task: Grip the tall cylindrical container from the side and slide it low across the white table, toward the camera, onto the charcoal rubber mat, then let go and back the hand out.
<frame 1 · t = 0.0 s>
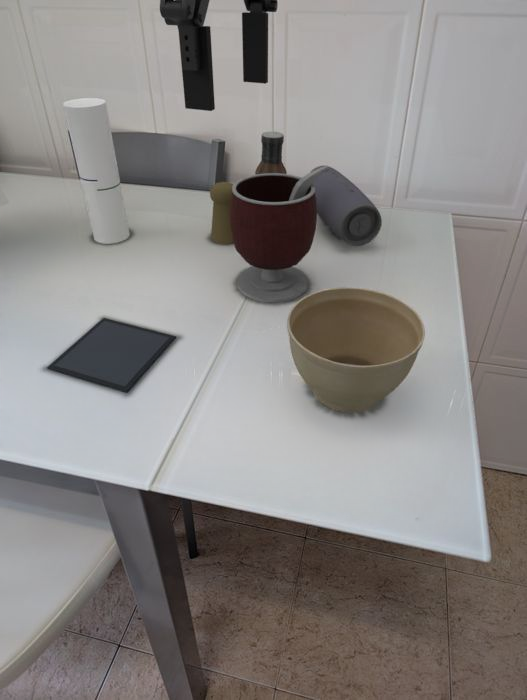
hand: (230, 94, 51), 34 cm above the table, tool pointing down, fingers open, 13 cm apart
bluetooth speaker: (337, 228, 105), on the table
cylindrical container: (112, 236, 102), on the table
planter bowl: (345, 389, 66), on the table
sauce bottle: (269, 236, 102), on the table
olive pepper mill: (225, 238, 101), on the table
charcoal mat: (114, 352, 72), on the table
mate gourd: (276, 284, 87), on the table
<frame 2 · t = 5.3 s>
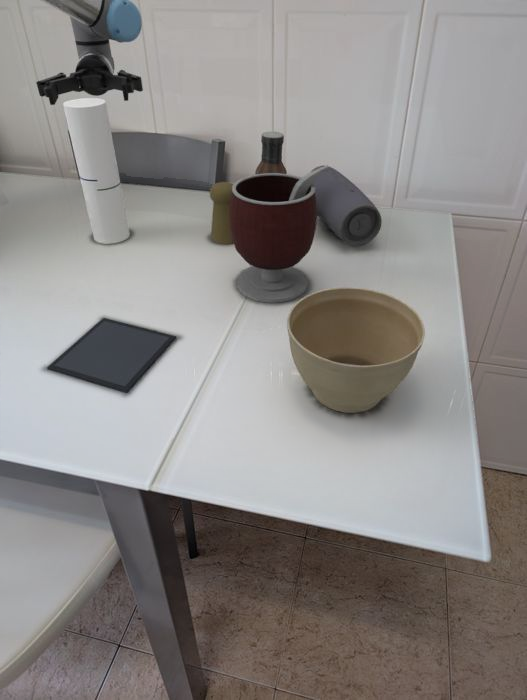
hand: (88, 95, 93), 24 cm above the table, tool horizontal, fingers open, 13 cm apart
nothing on the table moved.
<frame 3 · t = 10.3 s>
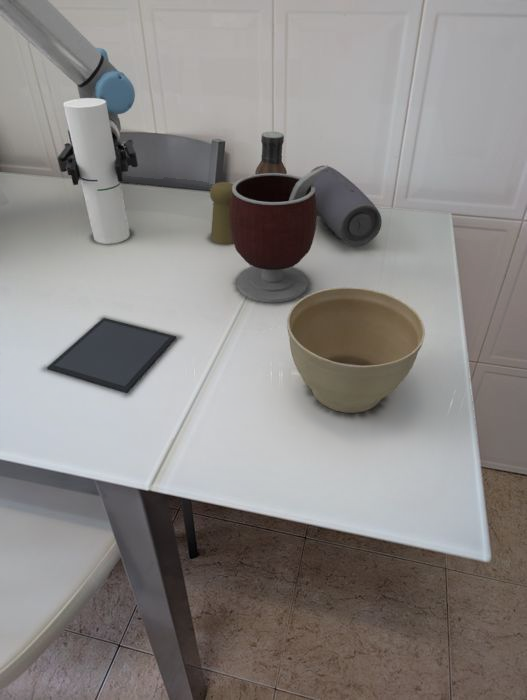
hand: (96, 175, 89), 14 cm above the table, tool horizontal, fingers closed on cylindrical container, 7 cm apart
cylindrical container: (112, 236, 102), on the table, touching gripper
everything else where it was.
when the fingers open (14 cm above the table, at t = 19.7 s): cylindrical container stays where it is, resting on charcoal mat.
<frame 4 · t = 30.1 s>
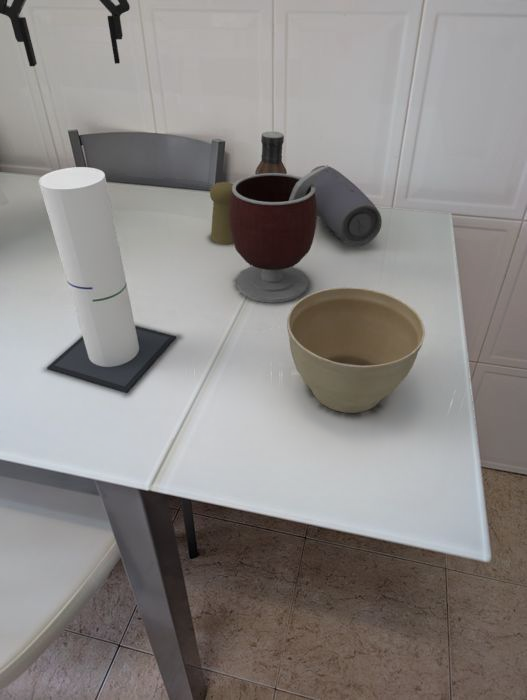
hand: (76, 63, 83), 31 cm above the table, tool pointing down, fingers open, 13 cm apart
cylindrical container: (114, 351, 72), resting on charcoal mat
everything else where it was.
at the end: cylindrical container inside the target area on the charcoal mat (0.0 cm from its centre), point 0.2 cm above the charcoal mat's base; cylindrical container tilted 0°; the gripper is holding nothing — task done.
